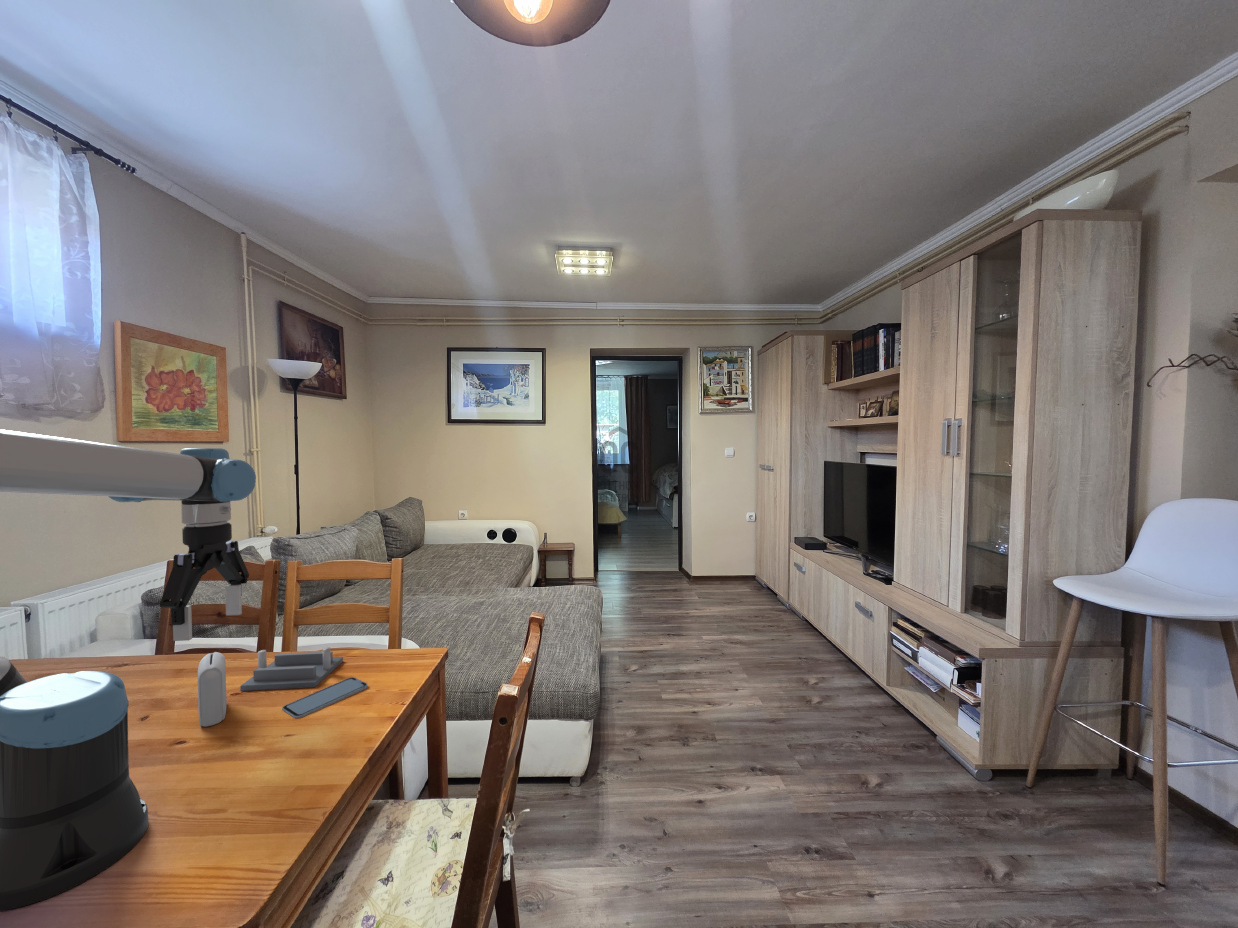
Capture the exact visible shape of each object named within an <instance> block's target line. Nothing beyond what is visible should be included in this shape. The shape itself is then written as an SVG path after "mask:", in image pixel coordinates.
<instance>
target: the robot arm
mask: <svg viewBox="0 0 1238 928" xmlns="http://www.w3.org/2000/svg"><path fill="white" fill-rule="evenodd" d="M256 480H257V476H256V472H255V470H254V468H253V467H252V465H251V464H250V463H248V462H246V461H245V460H241V459H233V458H230V454H229V451H228V450H227V449H225V448H217V447H215V448H214V447H209V448H205V447H204V448H203V447H202V448H201V447H198V448H197V447H196V448H195V447H194V448H193V447H191V448H190V447H189V448H187V447H185V448H182V449H181V450H180V453H176V452H175V453H174V452H168V451H160V450H154V449H153V450H152V449H148V448H147V449H146V448H137V447H132V446H125V445H124V446H123V445H116V444H110V443H101V442H95V441H87V440H79V439H74V438H67V437H66V438H65V437H59V436H50V435H45V434H44V435H43V434H38V433H37V434H36V433H28V432H22V431H16V430H15V431H14V430H8V429H7V430H6V429H0V493H18V494H42V495H43V494H46V495H65V496H66V495H68V496H88V497H90V496H92V497H95V496H96V497H108V498H109V499H111V500H113V501H115V502H118V503H142V502H145V501H146V502H147V501H178V502H179V501H181V524H183V525H185V526H183V527H182V529H181V530H182V531H181V533H182V534H181V535H182V544H183V545H185V546H187V547H188V552H187V553H175V554H174V555H173V558H172V559H173V563H172V568H171V571H170V574H169V577H168V580H167V583H166V585H165V588H164V591H163V594H162V596H161V599H160V603H159V607H160V608H164V609H170V615H171V618H170V620H171V622H170V623H171V625H172V633H173V634H172V635H173V636H172V637H173V639H172V641H173V642H180V641H181V642H184V641H185V642H186V641H187V642H188V641H190V640H192V639H193V626H192V624H193V621H192V617H193V616H192V605H189V602H190V600H191V599H192V596H193V595H194V593H195V590H196V589H197V587H198V585H199V583H200V580H201V579H202V577H203V575H206V574H207V573H208V571H211V570H213V569H214V568H215V569H216V570H217V572H218V573H219V574H220V575H221V576H222V578H223V579H224V580H225V581H226V582H227V583H228V584H227V585H225V586H224V588H225V592H224V593H225V596H224V597H225V616H240V615H242V614H243V611H242V610H243V609H242V608H243V607H242V596H243V594H242V593H243V592H242V591H243V590H242V585H244V584H247V583H248V579H249V577H250V573H249V571H248V568H247V567H246V564H245V560H244V559H243V557H242V554H241V552H240V549H239V542H238V540H232V538H233V534H232V532H233V531H232V530H233V529H232V526H233V525H232V523H230V522H229V521H231V520H232V512H231V511H232V508H231V506H232V505H231V502H237V501H242V500H243V499H246V498H248V497H249V496H250V495H251V494H252V492H254V490H255V487H256ZM129 704H130V703H129V699H128V696H127V690H126V685H125V682H124V681H123V679H122V678H121V677H119V676H118V675H116V674H114V673H111V672H107V671H102V670H80V671H77V672H73V673H70V672H63V673H57V674H53V675H48V676H43V677H40V678H37V679H34V680H31V681H27V680H26V679H25V677H24V676H23V675H22V674H21V673H20V671H19V670H18V669H17V668H16V667H15V666H14V664H13V663H12V662H11V661H10V660H9V658H7V657H5V656H1V655H0V911H5V910H14V909H17V908H21V907H25V906H28V905H32V904H35V903H37V902H38V903H39V902H40V901H44V900H46V899H49V898H52V897H54V896H57V895H59V894H62V893H64V892H66V891H68V890H70V889H72V888H74V887H77V886H78V885H80V884H82V883H84V882H86V881H88V880H89V879H91V878H93V877H95V876H97V875H98V874H100V873H102V872H103V871H105V870H106V869H108V868H109V867H110V866H112V865H113V864H115V863H116V862H118V861H120V859H121V858H123V857H124V856H126V855H127V854H128V853H129V852H130V851H132V849H133V848H134V847H135V846H137V844H138V843H139V842H140V841H141V839H142V838H143V837H144V836H145V834H146V833H147V829H148V827H149V808H148V805H147V803H146V801H145V800H144V799H143V798H141V796H140V794H139V791H138V789H137V787H136V785H135V784H134V782H133V781H132V779H131V777H130V765H129V718H128V717H129V716H128V714H129V713H128V712H129V709H128V708H129Z"/></svg>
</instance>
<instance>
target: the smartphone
mask: <svg viewBox="0 0 1238 928" xmlns="http://www.w3.org/2000/svg"><path fill="white" fill-rule="evenodd" d="M367 689H368V683H367V682H365V681H362V680H361V679H358V678H356V677H354V676H353V677H352V676H351V677H347V678H345V679H342V680H341V681H338V682H336V683H334V684H332V685H329V686H327V687H325V688H321V689H320V690H318V691H315V692H313V693H310V694H308V695H305V696H303V697H301V698H298V699H297V700H295V701H292V702H290V703H288V704H285V705H283V706H282V708H281V710H282V711H283V712H285V713H286V714H288V715H289V716H290V717H292V718H293V719H301V718H303V717H305V716H306V717H307V716H308V715H310V714H312V713H315V712H317V711H319V710H321V709H324V708H326V707H328V706H330V705H333V704H335V703H337V702H339V701H341V700H343V699H346V698H349V697H350V696H353V695H355V694H358V693H359V692H361V691H365V690H367Z"/></svg>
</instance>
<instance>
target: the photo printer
mask: <svg viewBox="0 0 1238 928" xmlns="http://www.w3.org/2000/svg"><path fill="white" fill-rule="evenodd" d="M226 664H227V663H226V657H225V655H223V654H222V653H221V652H217V651H214V652H211V653H207V654H206V655H204V656H203V658H202V659H201V660H200V662H199V663H198V668H197V704H198V705H197V706H198V709H197V710H198V722H199V725H200V727H203V728H205V727H211V726H214V725H218V724H220V723H221V722H222V721H223V720H225V717H226V714H227V702H228V701H227V699H228V698H227V674H226V673H227V672H226V671H227V670H226V668H227V667H226V666H227V665H226Z"/></svg>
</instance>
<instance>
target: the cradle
mask: <svg viewBox="0 0 1238 928" xmlns="http://www.w3.org/2000/svg"><path fill="white" fill-rule="evenodd" d="M343 662H344V657H343V656H334V655H333V651H332V650H331V647H329V646H327V647H323V648H322V651H312V652H311V651H309V652H305V651H304V652H286V653H282V652H281V653H276V654H275V655H274V661H272V662H271V663H270V664H269V665H268V664H267V649H262V650H258V652H257V668H255V669H254V670H253V672H252V674H253V675H252V677H250V678H249V679H248V680H246V681H245V682H244V683H242V684H241V685H240V687H239V688H240V690H239V691H240V692H243V691H244V692H245V691H247V692H249V691H265V690H284V689H287V690H288V689H303V688H304V689H305V688H317V687H318V685H320V684H321V682H323V681H324V680H325V679H326V678H327V677H328V676H329V675H330V674H332V672H333V671H334V670H336V669H337V668H338V667H339V666H340V665H341V664H342V663H343Z"/></svg>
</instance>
